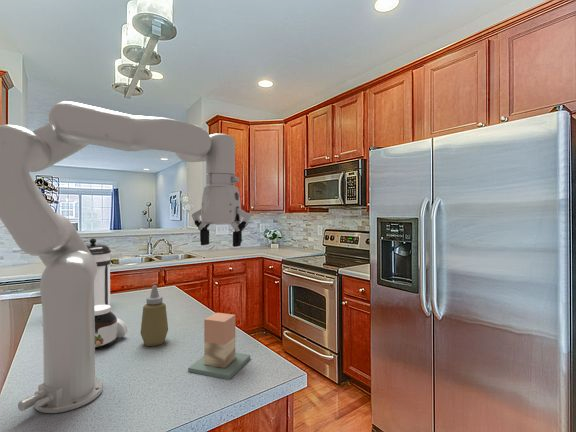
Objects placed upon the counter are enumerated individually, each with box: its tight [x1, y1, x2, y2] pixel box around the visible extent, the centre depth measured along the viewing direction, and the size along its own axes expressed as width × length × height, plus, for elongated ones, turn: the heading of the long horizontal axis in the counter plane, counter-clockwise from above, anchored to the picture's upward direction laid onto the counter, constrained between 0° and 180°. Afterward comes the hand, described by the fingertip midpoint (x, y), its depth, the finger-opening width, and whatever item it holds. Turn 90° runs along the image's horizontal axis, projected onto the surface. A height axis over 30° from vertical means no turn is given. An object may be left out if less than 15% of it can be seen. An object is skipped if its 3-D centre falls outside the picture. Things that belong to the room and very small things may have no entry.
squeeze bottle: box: [140, 284, 169, 347], centre depth 101 cm, size 8×8×18 cm
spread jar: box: [94, 305, 128, 351], centre depth 101 cm, size 12×11×12 cm
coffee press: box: [85, 238, 116, 306], centre depth 131 cm, size 17×16×30 cm
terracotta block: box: [203, 312, 236, 345], centre depth 87 cm, size 6×6×6 cm
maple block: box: [203, 336, 236, 368], centre depth 87 cm, size 6×6×6 cm
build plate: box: [187, 352, 251, 380], centre depth 87 cm, size 12×12×1 cm
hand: (220, 245), depth 87 cm, fingers open, 9 cm apart
